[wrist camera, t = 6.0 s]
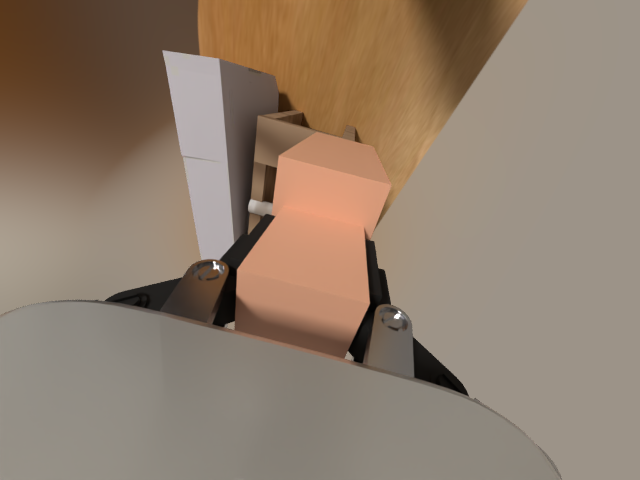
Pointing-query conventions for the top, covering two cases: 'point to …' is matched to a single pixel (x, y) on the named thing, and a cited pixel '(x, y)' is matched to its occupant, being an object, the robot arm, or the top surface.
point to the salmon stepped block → (314, 247)
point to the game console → (218, 141)
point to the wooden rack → (275, 156)
